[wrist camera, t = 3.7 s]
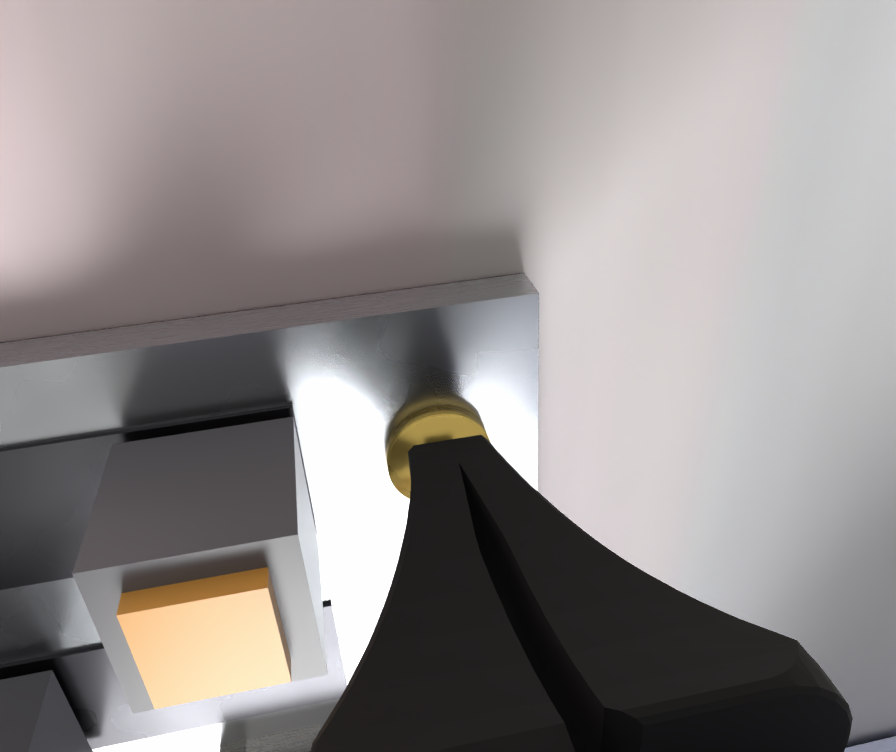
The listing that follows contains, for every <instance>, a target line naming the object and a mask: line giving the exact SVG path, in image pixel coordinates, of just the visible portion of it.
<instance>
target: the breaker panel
mask: <svg viewBox="0 0 896 752" xmlns="http://www.w3.org/2000/svg"><path fill="white" fill-rule="evenodd" d="M538 355H539V293H538V291H537V290H536V288H535V287H534V286H533V284H532V283H531V281H530V280H529V279H528V277H527V276H526V274H525V273H522V274H515V275H507V276H500V277H492V278H485V279H478V280H470V281H463V282H455V283H448V284H440V285H433V286H425V287H418V288H410V289H403V290H395V291H388V292H380V293H373V294H365V295H358V296H350V297H343V298H335V299H328V300H320V301H313V302H305V303H298V304H290V305H283V306H275V307H268V308H260V309H253V310H245V311H238V312H230V313H223V314H215V315H208V316H201V317H193V318H186V319H178V320H171V321H163V322H156V323H148V324H141V325H133V326H126V327H118V328H111V329H103V330H96V331H88V332H81V333H73V334H66V335H58V336H51V337H43V338H36V339H28V340H21V341H13V342H6V343H0V680H2V679H8V678H13V677H18V676H23V675H29V674H34V673H39V672H44V671H50V670H52V671H53V673H54V675H55V677H56V679H57V681H58V683H59V685H60V687H61V689H62V691H63V693H64V695H65V697H66V699H67V701H68V703H69V705H70V707H71V709H72V711H73V713H74V715H75V717H76V719H77V721H78V723H79V725H80V727H81V729H82V731H83V733H84V735H85V737H86V739H87V741H88V743H89V745H90V747H91V749H92V751H93V752H310V750H311V747H312V743H313V741H314V740H315V738H316V736H317V735H318V733H319V731H320V730H321V728H322V727H323V725H324V723H325V722H326V720H327V719H328V717H329V715H330V714H331V712H332V711H333V709H334V707H335V706H336V704H337V702H338V701H339V699H340V697H341V696H342V694H343V692H344V690H345V689H346V687H347V685H348V683H349V681H350V679H351V677H352V675H353V673H354V671H355V669H356V667H357V665H358V663H359V661H360V659H361V657H362V655H363V653H364V651H365V649H366V647H367V645H368V642H369V640H370V638H371V636H372V633H373V631H374V628H375V626H376V623H377V621H378V618H379V616H380V613H381V611H382V608H383V606H384V603H385V600H386V597H387V594H388V591H389V589H390V586H391V582H392V579H393V576H394V573H395V569H396V566H397V562H398V558H399V554H400V549H401V545H402V541H403V537H404V532H405V528H406V522H407V515H408V508H409V501H410V491H411V478H410V468H409V458H408V451H409V450H410V449H411V448H412V447H413V446H414V445H419V444H425V443H432V442H438V441H444V440H450V439H457V438H463V437H469V436H475V435H482V436H484V437H485V438H486V439H488V440H489V442H490V443H491V444H492V445H493V446H494V447H495V448H496V450H497V451H498V452H499V453H500V454H501V455H502V456H503V457H504V458H505V459H506V460H507V461H508V463H509V464H510V465H511V466H512V467H513V468H514V469H515V470H516V471H517V472H518V473H519V474H520V475H521V476H522V477H523V478H524V479H525V480H526V481H527V482H528V483H529V484H530V485H531V486H532V487H534V488H535V489H536V490H537V491H538ZM288 417H293V418H294V423H295V428H296V433H297V438H298V443H299V448H300V454H301V459H302V464H303V469H304V474H305V479H306V484H307V489H308V494H309V500H310V505H311V510H312V515H313V520H314V525H315V530H316V535H317V541H318V546H319V560H320V574H321V588H322V602H323V616H324V630H325V644H326V658H327V672H328V675H324V676H319V677H314V678H309V679H304V680H299V681H294V682H289V683H284V684H279V685H274V686H269V687H264V688H259V689H254V690H249V691H244V692H239V693H234V694H229V695H224V696H219V697H214V698H209V699H204V700H199V701H194V702H189V703H184V704H179V705H174V706H169V707H164V708H159V709H154V710H149V711H144V712H139V713H134V714H133V713H132V711H131V708H130V706H129V704H128V701H127V699H126V697H125V695H124V692H123V690H122V688H121V685H120V683H119V681H118V678H117V676H116V674H115V672H114V669H113V667H112V665H111V662H110V660H109V658H108V655H107V653H106V651H105V648H104V646H103V644H102V642H101V639H100V637H99V635H98V632H97V630H96V628H95V625H94V623H93V621H92V618H91V616H90V614H89V612H88V609H87V607H86V605H85V602H84V600H83V598H82V595H81V593H80V591H79V589H78V586H77V584H76V582H75V579H74V577H73V575H72V573H73V570H74V566H75V563H76V560H77V557H78V553H79V550H80V547H81V544H82V540H83V537H84V534H85V531H86V527H87V524H88V521H89V518H90V514H91V511H92V508H93V505H94V502H95V498H96V495H97V492H98V489H99V485H100V482H101V479H102V476H103V472H104V469H105V466H106V463H107V459H108V456H109V453H110V450H111V446H112V444H118V443H125V442H131V441H138V440H144V439H151V438H157V437H164V436H170V435H177V434H183V433H190V432H196V431H203V430H209V429H216V428H223V427H229V426H236V425H242V424H249V423H255V422H262V421H268V420H275V419H281V418H288Z"/></svg>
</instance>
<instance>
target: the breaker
mask: <svg viewBox="0 0 896 752" xmlns="http://www.w3.org/2000/svg"><path fill="white" fill-rule="evenodd" d="M0 752H93V751H92V749H91V747H90V745H89V743H88V741H87V739H86V737H85V735H84V733H83V731H82V729H81V727H80V725H79V723H78V721H77V719H76V717H75V715H74V713H73V711H72V709H71V707H70V705H69V703H68V701H67V699H66V697H65V695H64V693H63V691H62V689H61V687H60V685H59V683H58V681H57V679H56V677H55V675H54V673H53V671H52V670H50V671H44V672H39V673H34V674H29V675H23V676H18V677H13V678H8V679H2V680H0Z"/></svg>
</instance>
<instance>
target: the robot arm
mask: <svg viewBox="0 0 896 752" xmlns="http://www.w3.org/2000/svg"><path fill="white" fill-rule="evenodd" d="M408 458H409V468H410V478H411V491H410V501H409V508H408V515H407V522H406V528H405V532H404V537H403V541H402V545H401V549H400V554H399V558H398V562H397V566H396V569H395V573H394V576H393V579H392V582H391V586H390V589H389V591H388V594H387V597H386V600H385V603H384V606H383V608H382V611H381V613H380V616H379V618H378V621H377V623H376V626H375V628H374V631H373V633H372V636H371V638H370V640H369V642H368V645H367V647H366V649H365V651H364V653H363V655H362V657H361V659H360V661H359V663H358V665H357V667H356V669H355V671H354V673H353V675H352V677H351V679H350V681H349V683H348V685H347V687H346V689H345V690H344V692H343V694H342V696H341V697H340V699H339V701H338V702H337V704H336V706H335V707H334V709H333V711H332V712H331V714H330V715H329V717H328V719H327V720H326V722H325V723H324V725H323V727H322V728H321V730H320V731H319V733H318V735H317V736H316V738H315V740H314V741H313V743H312V747H311V750H310V752H896V736H894V737H890V738H885V739H881V740H877V741H873V742H868V743H864V744H860V745H855V746H851V747H847V748H846V745H847V742H848V739H849V735H850V729H851V724H852V716H851V712H850V709H849V705H848V703H847V702H846V701H845V699H844V698H843V697H842V695H841V694H840V693H839V691H838V690H837V688H836V687H835V686H834V684H833V683H832V682H831V680H830V679H829V678H828V676H827V675H826V674H825V672H824V671H823V670H822V669H821V667H820V666H819V665H818V664H817V663H816V662H815V660H814V659H813V658H812V657H811V656H810V655H809V654H808V653H807V652H806V651H805V650H804V648H803V647H802V646H801V645H800V643H799V642H798V641H797V640H794V639H791V638H789V637H786V636H784V635H781V634H778V633H776V632H773V631H770V630H768V629H765V628H762V627H760V626H757V625H754V624H752V623H749V622H746V621H744V620H741V619H738V618H736V617H734V616H731V615H729V614H727V613H724V612H722V611H720V610H718V609H716V608H713V607H711V606H709V605H707V604H705V603H702V602H700V601H698V600H696V599H694V598H692V597H690V596H688V595H686V594H684V593H682V592H680V591H678V590H676V589H674V588H672V587H671V586H669V585H667V584H665V583H663V582H662V581H660V580H658V579H656V578H654V577H653V576H651V575H649V574H647V573H645V572H643V571H642V570H640V569H638V568H637V567H635V566H634V565H632V564H630V563H629V562H627V561H625V560H624V559H622V558H621V557H619V556H618V555H616V554H615V553H614V552H612V551H611V550H609V549H608V548H606V547H605V546H603V545H602V544H601V543H599V542H598V541H596V540H595V539H594V538H592V537H591V536H590V535H589V534H587V533H586V532H585V531H583V530H582V529H581V528H580V527H578V526H577V525H576V524H575V523H573V522H572V521H571V520H570V519H568V518H567V517H566V516H565V515H564V514H562V513H561V512H560V511H559V510H558V509H557V508H555V507H554V506H553V505H552V504H551V503H550V502H549V501H548V500H547V499H546V498H544V497H543V496H542V495H541V494H540V493H539V492H538V491H537V490H536V489H535V488H534V487H532V486H531V485H530V484H529V483H528V482H527V481H526V480H525V479H524V478H523V477H522V476H521V475H520V474H519V473H518V472H517V471H516V470H515V469H514V468H513V467H512V466H511V465H510V464H509V463H508V461H507V460H506V459H505V458H504V457H503V456H502V455H501V454H500V453H499V452H498V451H497V450H496V448H495V447H494V446H493V445H492V444H491V443H490V442H489V440H488V439H486V438H485V437H484V436H482V435H475V436H469V437H463V438H457V439H450V440H444V441H438V442H432V443H425V444H419V445H414V446H413V447H412V448H411V449H410V450H409V451H408Z"/></svg>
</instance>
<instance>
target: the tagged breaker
mask: <svg viewBox="0 0 896 752" xmlns="http://www.w3.org/2000/svg"><path fill="white" fill-rule="evenodd" d="M72 575H73V577H74V579H75V582H76V584H77V586H78V589H79V591H80V593H81V595H82V598H83V600H84V602H85V605H86V607H87V609H88V612H89V614H90V616H91V618H92V621H93V623H94V625H95V628H96V630H97V632H98V635H99V637H100V639H101V642H102V644H103V646H104V648H105V651H106V653H107V655H108V658H109V660H110V662H111V665H112V667H113V669H114V672H115V674H116V676H117V678H118V681H119V683H120V685H121V688H122V690H123V692H124V695H125V697H126V699H127V701H128V704H129V706H130V708H131V711H132V713H133V714H134V713H139V712H144V711H149V710H154V709H159V708H164V707H169V706H174V705H179V704H184V703H189V702H194V701H199V700H204V699H209V698H214V697H219V696H224V695H229V694H234V693H239V692H244V691H249V690H254V689H259V688H264V687H269V686H274V685H279V684H284V683H289V682H294V681H299V680H304V679H309V678H314V677H319V676H324V675H328V672H327V658H326V644H325V630H324V616H323V602H322V588H321V574H320V560H319V546H318V541H317V535H316V530H315V525H314V520H313V515H312V510H311V505H310V500H309V494H308V489H307V484H306V479H305V474H304V469H303V464H302V459H301V454H300V448H299V443H298V438H297V433H296V428H295V423H294V418H293V417H288V418H281V419H275V420H268V421H262V422H255V423H249V424H242V425H236V426H229V427H223V428H216V429H209V430H203V431H196V432H190V433H183V434H177V435H170V436H164V437H157V438H151V439H144V440H138V441H131V442H125V443H118V444H112V446H111V450H110V453H109V456H108V459H107V463H106V466H105V469H104V472H103V476H102V479H101V482H100V485H99V489H98V492H97V495H96V498H95V502H94V505H93V508H92V511H91V514H90V518H89V521H88V524H87V527H86V531H85V534H84V537H83V540H82V544H81V547H80V550H79V553H78V557H77V560H76V563H75V566H74V570H73V573H72Z"/></svg>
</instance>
